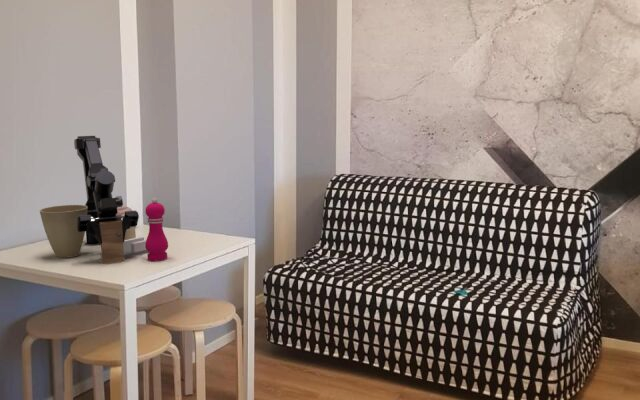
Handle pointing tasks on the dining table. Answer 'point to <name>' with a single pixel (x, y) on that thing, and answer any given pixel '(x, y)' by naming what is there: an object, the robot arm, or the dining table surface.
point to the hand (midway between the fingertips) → (112, 242)
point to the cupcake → (122, 210)
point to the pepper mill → (156, 232)
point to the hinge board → (134, 247)
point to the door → (112, 242)
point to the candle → (130, 233)
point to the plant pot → (63, 228)
